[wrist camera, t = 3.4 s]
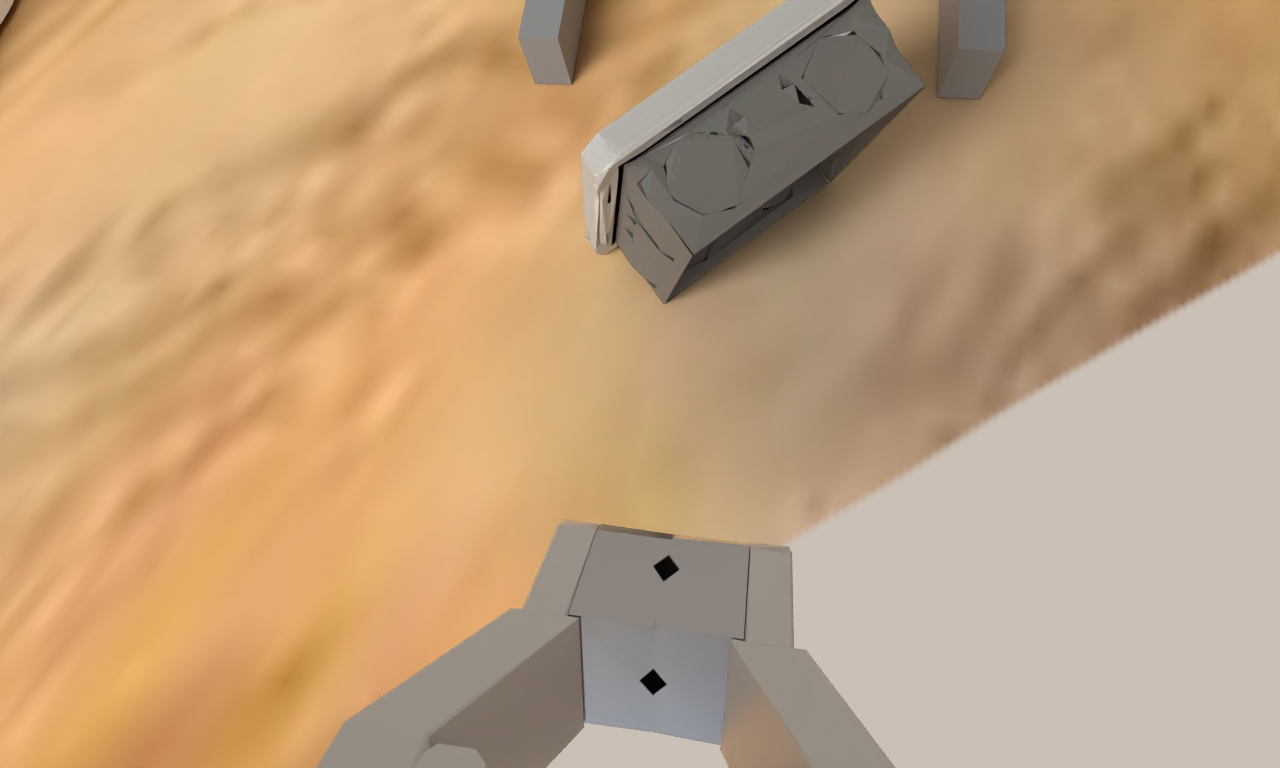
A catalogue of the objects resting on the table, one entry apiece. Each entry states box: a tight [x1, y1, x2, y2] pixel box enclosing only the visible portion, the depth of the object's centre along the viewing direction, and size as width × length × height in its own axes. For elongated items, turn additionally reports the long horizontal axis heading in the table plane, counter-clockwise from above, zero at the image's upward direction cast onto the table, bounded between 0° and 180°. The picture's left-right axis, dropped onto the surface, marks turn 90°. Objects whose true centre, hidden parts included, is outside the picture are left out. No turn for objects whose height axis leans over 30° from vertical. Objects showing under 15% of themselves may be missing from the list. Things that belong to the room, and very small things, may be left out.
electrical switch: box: [581, 0, 925, 304], centre depth 22 cm, size 9×5×9 cm, turn 126°
